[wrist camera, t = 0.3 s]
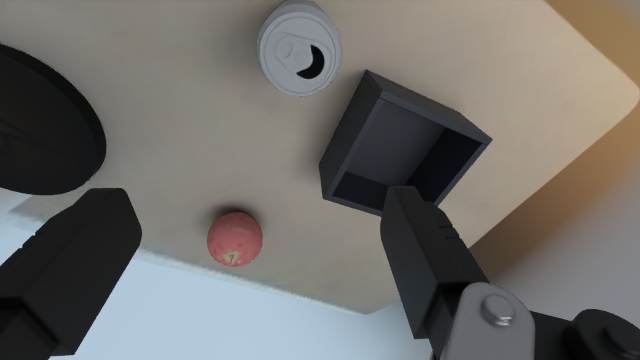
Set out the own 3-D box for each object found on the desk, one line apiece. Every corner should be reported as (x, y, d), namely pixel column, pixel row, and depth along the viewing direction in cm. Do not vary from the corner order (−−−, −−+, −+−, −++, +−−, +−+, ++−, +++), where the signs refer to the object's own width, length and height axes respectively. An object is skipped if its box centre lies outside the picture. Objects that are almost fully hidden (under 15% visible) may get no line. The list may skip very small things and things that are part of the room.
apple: (266, 237, 46) (261, 279, 40) (219, 238, 46) (206, 281, 39) (263, 201, 42) (257, 241, 36) (211, 201, 42) (195, 242, 35)
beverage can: (310, 76, 33) (316, 116, 23) (258, 45, 31) (239, 75, 21) (340, 21, 30) (363, 39, 20) (285, -17, 28) (278, -17, 18)
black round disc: (126, 185, 39) (119, 194, 38) (-16, 187, 38) (-30, 196, 36) (66, 42, 29) (53, 45, 28) (-129, 37, 28) (-156, 40, 26)
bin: (366, 69, 33) (382, 89, 27) (459, 112, 37) (493, 139, 30) (318, 164, 40) (322, 199, 33) (401, 193, 43) (419, 228, 37)
